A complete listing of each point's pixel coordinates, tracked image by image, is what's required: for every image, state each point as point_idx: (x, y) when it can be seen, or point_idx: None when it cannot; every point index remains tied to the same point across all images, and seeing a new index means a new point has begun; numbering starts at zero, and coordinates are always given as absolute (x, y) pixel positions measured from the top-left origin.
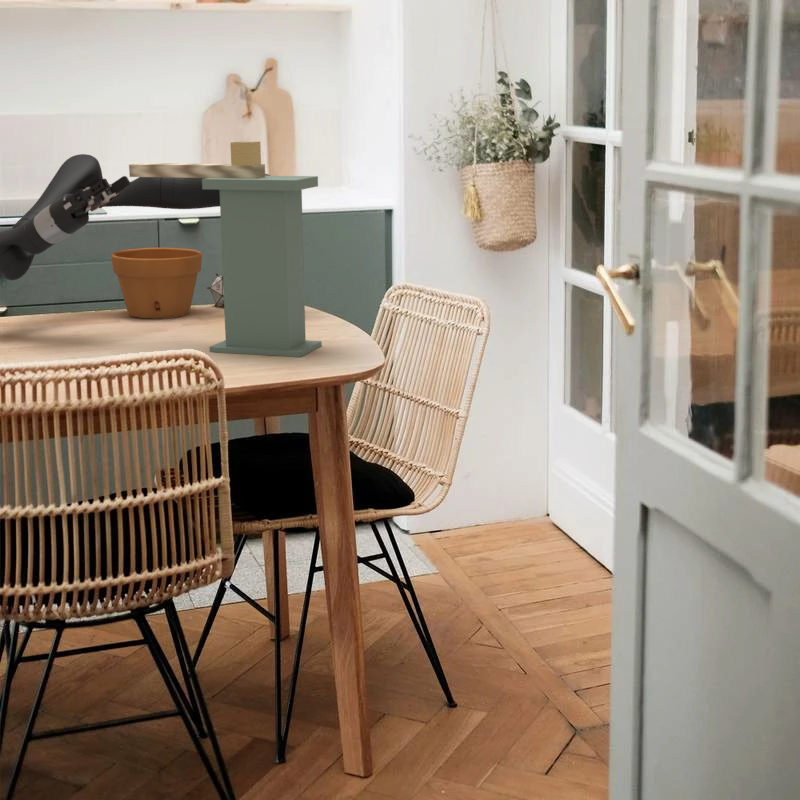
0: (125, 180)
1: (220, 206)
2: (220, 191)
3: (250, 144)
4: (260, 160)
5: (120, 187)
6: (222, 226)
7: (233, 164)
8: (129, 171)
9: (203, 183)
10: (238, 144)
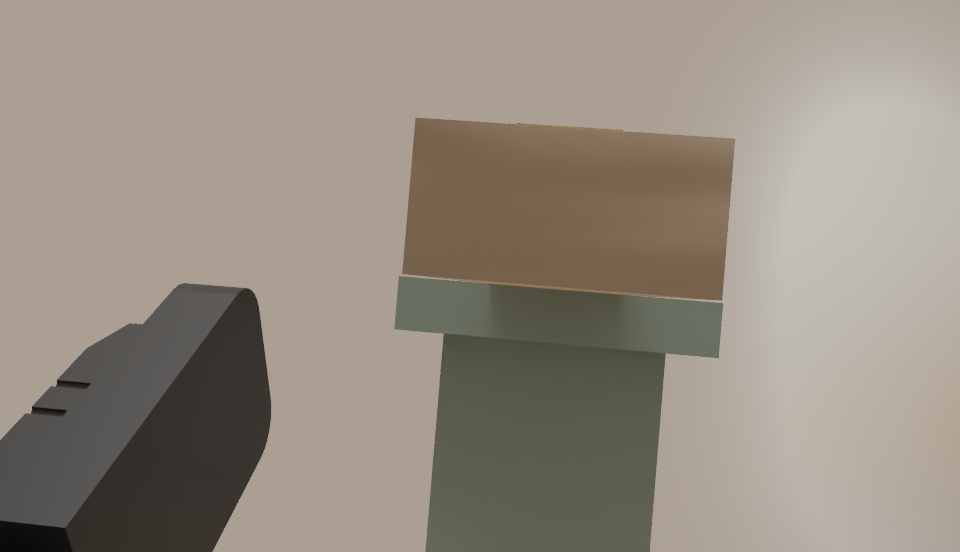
0: (254, 367)
1: (657, 435)
2: (664, 360)
3: None
4: None
5: (195, 535)
6: (650, 532)
7: None
8: (725, 230)
9: (719, 326)
10: None
